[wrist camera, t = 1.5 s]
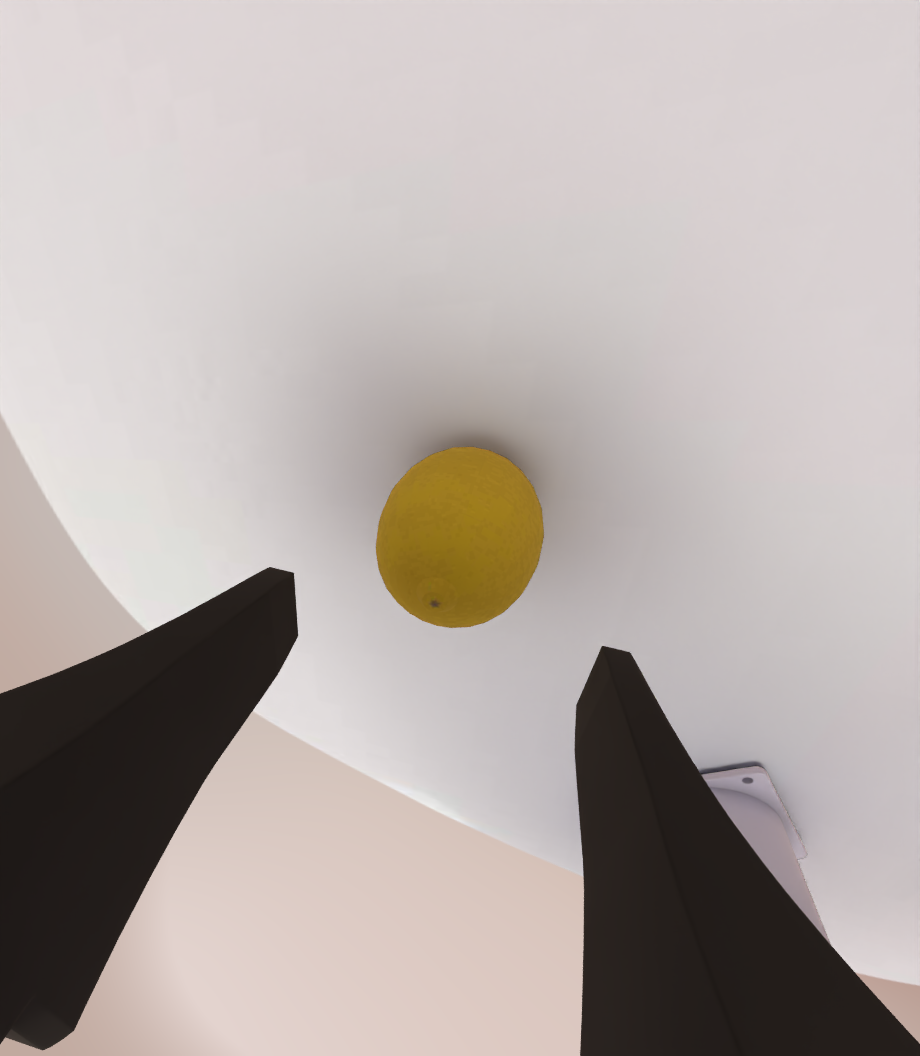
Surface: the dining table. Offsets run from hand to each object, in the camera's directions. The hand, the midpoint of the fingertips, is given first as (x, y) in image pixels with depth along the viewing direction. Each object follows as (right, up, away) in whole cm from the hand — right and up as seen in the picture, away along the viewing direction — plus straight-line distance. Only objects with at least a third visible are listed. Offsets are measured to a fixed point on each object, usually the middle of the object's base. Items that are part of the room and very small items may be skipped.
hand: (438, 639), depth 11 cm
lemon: (+1, +4, +9) cm, 10 cm away
